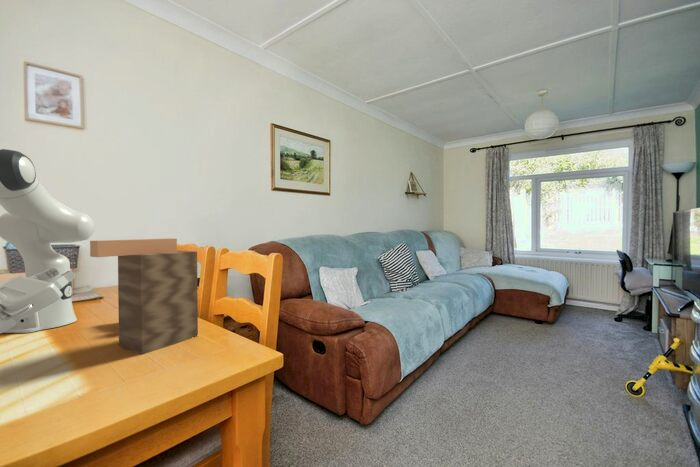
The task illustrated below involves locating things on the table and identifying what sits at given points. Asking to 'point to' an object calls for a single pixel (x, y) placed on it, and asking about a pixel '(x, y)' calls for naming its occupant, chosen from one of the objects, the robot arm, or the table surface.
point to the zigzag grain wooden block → (157, 300)
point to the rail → (131, 247)
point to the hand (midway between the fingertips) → (64, 271)
